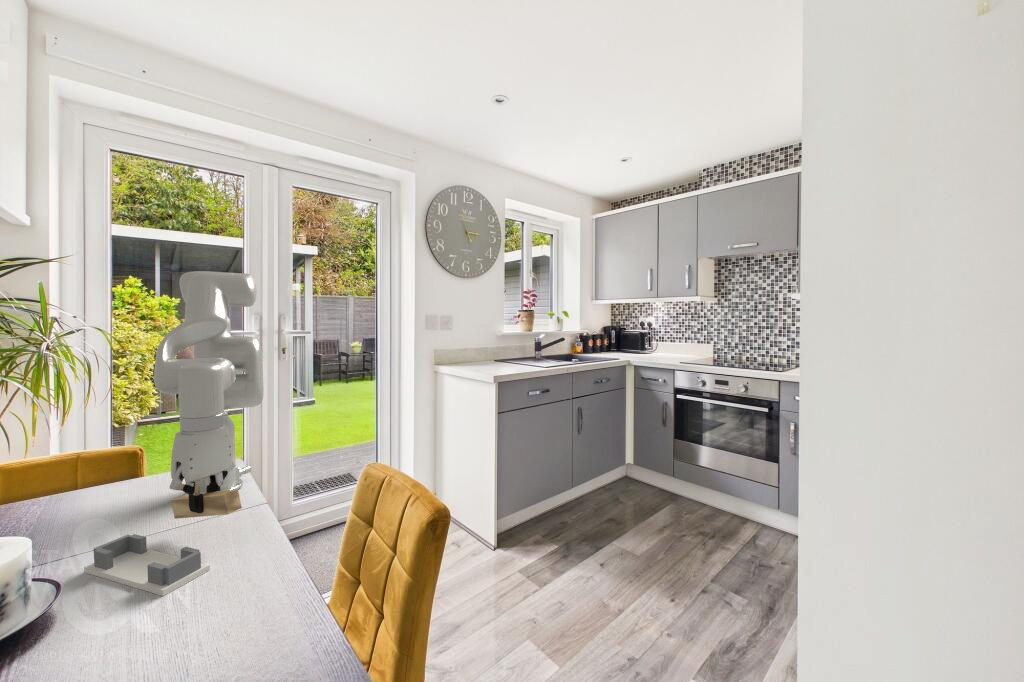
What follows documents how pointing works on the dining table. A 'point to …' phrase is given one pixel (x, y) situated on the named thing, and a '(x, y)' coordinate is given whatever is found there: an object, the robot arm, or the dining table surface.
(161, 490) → the dining table surface
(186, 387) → the robot arm
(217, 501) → the slat
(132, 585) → the mounting board
